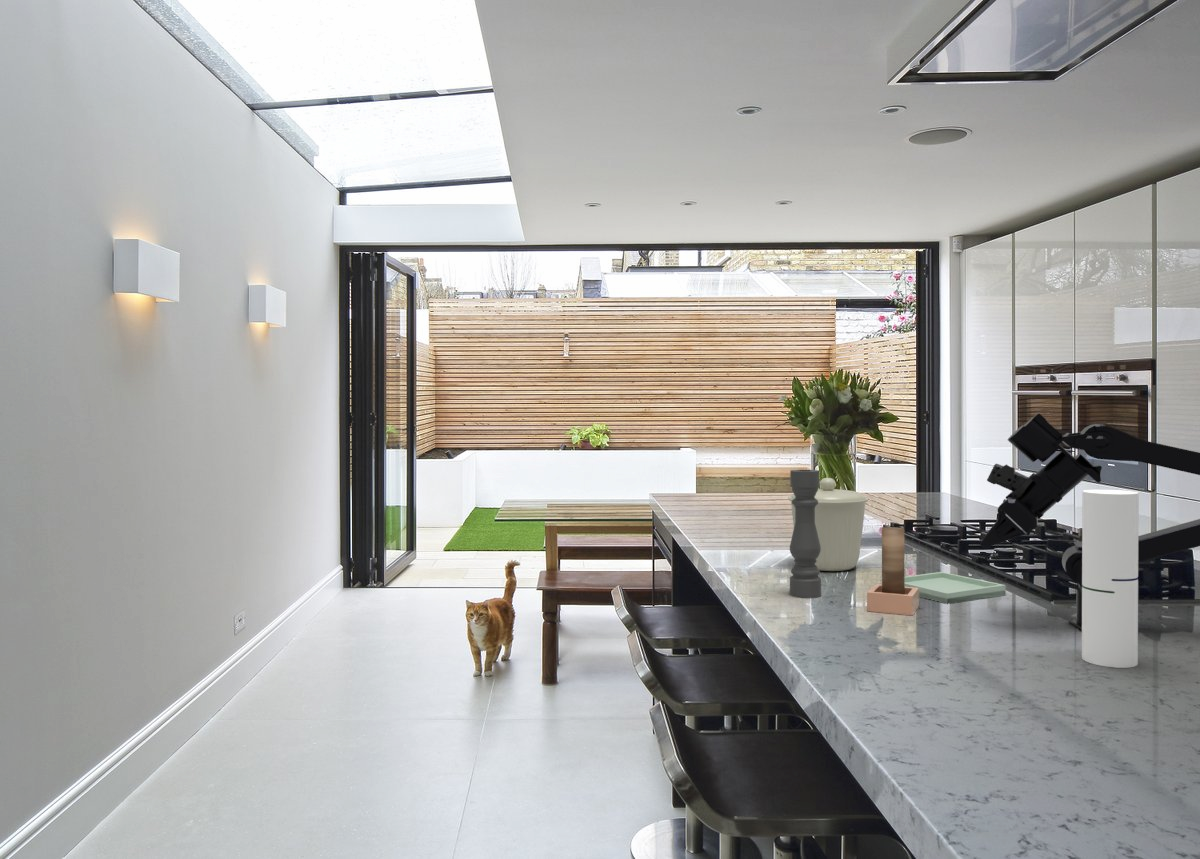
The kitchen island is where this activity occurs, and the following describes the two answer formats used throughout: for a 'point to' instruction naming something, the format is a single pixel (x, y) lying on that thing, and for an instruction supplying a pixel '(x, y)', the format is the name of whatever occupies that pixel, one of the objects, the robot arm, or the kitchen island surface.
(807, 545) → the candle holder
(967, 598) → the tray
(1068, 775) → the kitchen island surface
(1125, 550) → the cylindrical container
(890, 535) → the dowel pin
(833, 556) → the canister
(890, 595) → the pink open box
